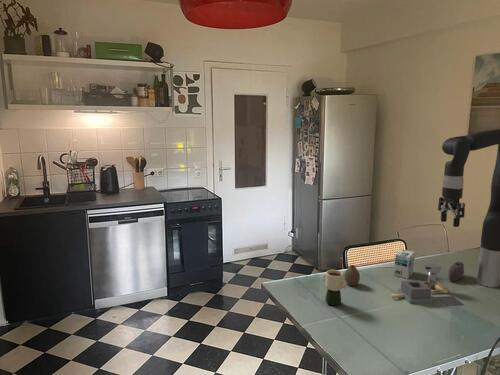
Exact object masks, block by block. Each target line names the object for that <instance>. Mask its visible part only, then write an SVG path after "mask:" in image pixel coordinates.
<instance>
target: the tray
mask: <svg viewBox="0 0 500 375" xmlns="http://www.w3.org/2000/svg"><path fill="white" fill-rule="evenodd" d="M422 282H423V283H424V284H425V285H427V281H422ZM449 290H450V289H448V288H447V287H445V286H444V285H442V283H440V282H439V281H437V280H436V286H435V290H431V294H449Z"/></svg>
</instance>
